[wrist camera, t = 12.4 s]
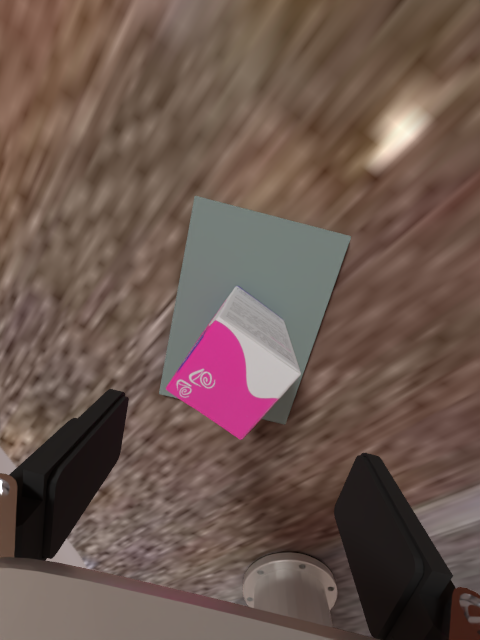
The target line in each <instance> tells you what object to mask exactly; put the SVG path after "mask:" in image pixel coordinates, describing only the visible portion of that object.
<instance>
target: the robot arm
mask: <svg viewBox="0 0 480 640" xmlns="http://www.w3.org/2000/svg"><path fill="white" fill-rule="evenodd" d="M128 400H129V399H128V397H125V393H124V392H121V391H117V390H113V389H109V390H108V391H107V392H105V393H104V394H103V395H102V396H101V397H100V398H99V399H98V400H97V401H96V402H95V403H94V404H93V405H92V406H91V407H89V408H88V409H87V410H86V411H85V412H84V413H83V414H82V415H81V416H80V417H79V418H78V419H77V418H73V419H71V420H70V421H68V422H67V423H66V424H65V425H64V426H63V427H62V428H60V429H59V430H58V431H57V432H56V433H55V434H54V435H53V436H52V437H50V438H49V439H48V440H47V441H46V442H45V443H44V444H43V445H42V446H41V447H39V448H38V449H37V450H36V451H35V452H34V453H33V454H32V455H31V456H29V457H28V458H27V459H26V460H25V461H24V462H23V463H22V464H21V465H20V466H18V467H17V468H16V469H15V470H14V471H13V472H12V473H11V474H10V475H7V474H2V473H0V640H480V595H479V594H478V593H476V592H475V591H473V590H470V589H468V588H465V587H457V588H455V586H454V585H453V583H452V581H451V578H452V577H453V575H452V573H451V572H450V570H449V569H448V567H447V565H446V564H445V562H444V560H443V559H442V557H441V556H440V554H439V552H438V551H437V549H436V547H435V546H434V544H433V542H432V541H431V539H430V538H429V536H428V534H427V533H426V531H425V529H424V528H423V526H422V525H421V523H420V521H419V520H418V518H417V516H416V515H415V513H414V512H413V510H412V508H411V507H410V505H409V503H408V502H407V500H406V499H405V497H404V495H403V494H402V492H401V490H400V489H399V487H398V486H397V484H396V482H395V481H394V479H393V477H392V476H391V474H390V473H389V471H388V469H387V468H386V466H385V464H384V463H383V461H382V460H381V458H380V457H379V456H376V455H372V454H368V453H362V454H361V456H360V455H359V456H357V457H356V459H355V461H354V464H353V466H352V468H351V471H350V473H349V475H348V477H347V480H346V482H345V484H344V487H343V489H342V491H341V493H340V496H339V498H338V500H337V502H336V505H335V509H334V515H335V519H336V523H337V526H338V529H339V532H340V536H341V539H342V542H343V546H344V549H345V552H346V555H347V559H348V562H349V565H350V569H351V572H352V575H353V578H354V582H355V585H356V588H357V592H358V595H359V598H360V601H361V605H362V608H363V611H364V615H365V618H366V621H367V624H368V628H369V630H370V633H371V635H372V636H373V637H374V638H372V637H368V636H364V635H360V634H356V633H352V632H348V631H344V630H340V629H336V628H333V625H332V620H331V615H330V610H331V608H332V607H333V606H334V604H335V602H336V599H337V587H336V582H335V579H334V576H333V574H332V573H331V571H330V570H329V569H328V568H327V567H326V566H325V565H324V564H323V563H321V562H320V561H318V560H317V559H315V558H312V557H310V556H307V555H304V554H300V553H292V552H287V553H276V554H271V555H268V556H265V557H263V558H261V559H259V560H257V561H256V562H255V563H253V564H252V565H251V566H250V567H249V568H248V569H247V571H246V573H245V575H244V579H243V596H244V599H245V601H246V603H247V605H248V606H249V607H247V606H243V605H239V604H235V603H231V602H227V601H223V600H218V599H214V598H210V597H206V596H202V595H198V594H194V593H189V592H185V591H181V590H177V589H173V588H168V587H164V586H160V585H156V584H151V583H147V582H143V581H139V580H135V579H130V578H126V577H122V576H118V575H113V574H109V573H104V572H99V571H95V570H90V569H85V568H81V567H76V566H71V565H66V564H62V563H57V562H50V561H45V560H46V559H47V558H50V559H51V558H53V557H54V556H55V554H56V553H57V552H58V550H59V549H60V547H61V546H62V544H63V543H64V541H65V540H66V538H67V537H68V535H69V534H70V532H71V531H72V529H73V528H74V526H75V525H76V523H77V522H78V520H79V519H80V517H81V515H82V514H83V512H84V511H85V509H86V508H87V506H88V505H89V503H90V502H91V500H92V499H93V497H94V496H95V494H96V493H97V491H98V490H99V488H100V487H101V485H102V484H103V482H104V481H105V479H106V478H107V476H108V474H109V473H110V471H111V470H112V468H113V467H114V465H115V464H116V462H117V460H118V458H119V455H120V452H121V445H122V439H123V432H124V426H125V420H126V413H127V407H128Z"/></svg>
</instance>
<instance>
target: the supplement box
mask: <svg viewBox="0 0 480 640" xmlns="http://www.w3.org/2000/svg"><path fill="white" fill-rule="evenodd" d="M300 375H301V372H300V369H299V365H298V362H297V360H296V356H295V353H294V350H293V347H292V344H291V341H290V338H289V335H288V332H287V329H286V326H285V322H284V320H283V319H282V318H281V317H280V316H278V315H277V314H275V313H274V312H273V311H271V310H270V309H269V308H268V307H266V306H265V305H264V304H262V303H261V302H260V301H258V300H257V299H255V298H254V297H253V296H251V295H250V294H249V293H247V292H246V291H245V290H243V289H242V288H241V287H239V286H236V287H235V288H234V289H233V291H232V292H231V294H230V295H229V296H228V298H227V299H226V300H225V302H224V303H223V304H222V306H221V307H220V309H219V310H218V312H217V313H216V314H215V316H214V317H213V318H212V320H211V321H210V323H209V324H208V326H207V327H206V328H205V330H204V331H203V332H202V334H201V335H200V337H199V338H198V340H197V341H196V343H195V344H194V346H193V347H192V349H191V350H190V352H189V353H188V355H187V356H186V358H185V359H184V361H183V363H182V364H181V366H180V367H179V369H178V370H177V372H176V373H175V375H174V376H173V378H172V379H171V381H170V382H169V384H168V385H167V387H166V390H167V391H168V392H170V393H171V394H173V395H174V396H176V397H177V398H179V399H180V400H182V401H183V402H185V403H186V404H188V405H190V406H191V407H193V408H194V409H196V410H198V411H199V412H201V413H202V414H204V415H205V416H206V417H208V418H209V419H211V420H212V421H214V422H215V423H217V424H218V425H220V426H221V427H222V428H224V429H225V430H227V431H228V432H230V433H231V434H233V435H234V436H235V437H237V438H238V439H240V440H242V439H243V438H244V437H245V436H246V435H247V434H248V433H249V432H250V431H251V430H252V429H253V428H254V427H255V425H256V424H257V423H258V422H259V421H260V420H261V419H262V418H263V417H264V416H265V414H266V413H267V412H268V411H269V410H270V409H271V408H272V407H273V406H274V404H275V403H276V402H277V401H278V400H279V399H280V398H281V397H282V396H283V394H284V393H285V392H286V391H287V390H288V389H289V388H290V386H291V385H292V384H293V383H294V382H295V381H296V380H297V379H298V378H299V376H300Z"/></svg>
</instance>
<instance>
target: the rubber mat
mask: <svg viewBox="0 0 480 640" xmlns="http://www.w3.org/2000/svg"><path fill="white" fill-rule="evenodd" d="M350 239H351V236H348V235H344V234H340V233H336V232H332V231H328V230H325V229H321V228H317V227H313V226H309V225H305V224H302V223H298V222H294V221H290V220H286V219H282V218H279V217H275V216H271V215H267V214H263V213H259V212H256V211H252V210H248V209H244V208H240V207H236V206H233V205H229V204H225V203H221V202H217V201H213V200H210V199H206V198H202V197H198V196H195V198H194V204H193V209H192V215H191V220H190V226H189V231H188V237H187V242H186V248H185V253H184V259H183V264H182V270H181V275H180V281H179V286H178V292H177V297H176V303H175V308H174V314H173V319H172V325H171V330H170V336H169V341H168V347H167V352H166V358H165V363H164V369H163V374H162V380H161V385H160V391H159V394H161V395H166V396H170V397H174V398H177V397H176V396H174V395H173V394H171V393H170V392H168V391H167V390H166V387H167V385H168V384H169V382H170V381H171V379H172V378H173V376H174V375H175V373H176V372H177V370H178V369H179V367H180V366H181V364H182V363H183V361H184V359H185V358H186V356H187V355H188V353H189V352H190V350H191V349H192V347H193V346H194V344H195V343H196V341H197V340H198V338H199V337H200V335H201V334H202V332H203V331H204V330H205V328H206V327H207V326H208V324H209V323H210V321H211V320H212V318H213V317H214V316H215V314H216V313H217V312H218V310H219V309H220V307H221V306H222V304H223V303H224V302H225V300H226V299H227V298H228V296H229V295H230V294H231V292H232V291H233V289H234V288H235V287H236V286H239V287H241V288H242V289H243V290H245V291H246V292H247V293H249V294H250V295H251V296H253V297H254V298H255V299H257V300H258V301H260V302H261V303H262V304H264V305H265V306H266V307H268V308H269V309H270V310H271V311H273V312H274V313H275V314H277V315H278V316H280V317H281V318H282V319H283V320H284V322H285V326H286V329H287V332H288V335H289V338H290V341H291V344H292V347H293V350H294V353H295V356H296V360H297V362H298V365H299V369H300V372H301V375H300V376H299V378H298V379H297V380H296V381H295V382H294V383H293V384H292V385H291V386H290V388H289V389H288V390H287V391H286V392H285V393H284V394H283V396H282V397H281V398H280V399H279V400H278V401H277V402H276V403H275V404H274V406H273V407H272V408H271V409H270V410H269V411H268V412H267V413H266V414H265V416H264V417H263V418H262V419H264V420H268V421H272V422H276V423H280V424H284V425H285V424H286V421H287V418H288V415H289V413H290V410H291V407H292V404H293V401H294V398H295V396H296V393H297V390H298V387H299V384H300V381H301V378H302V376H303V373H304V370H305V367H306V364H307V361H308V358H309V356H310V353H311V350H312V347H313V344H314V341H315V339H316V336H317V333H318V330H319V327H320V324H321V321H322V319H323V316H324V313H325V310H326V307H327V304H328V301H329V299H330V296H331V293H332V290H333V287H334V284H335V281H336V279H337V276H338V273H339V270H340V267H341V264H342V262H343V259H344V256H345V253H346V250H347V247H348V244H349V242H350ZM178 399H179V398H178Z"/></svg>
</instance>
